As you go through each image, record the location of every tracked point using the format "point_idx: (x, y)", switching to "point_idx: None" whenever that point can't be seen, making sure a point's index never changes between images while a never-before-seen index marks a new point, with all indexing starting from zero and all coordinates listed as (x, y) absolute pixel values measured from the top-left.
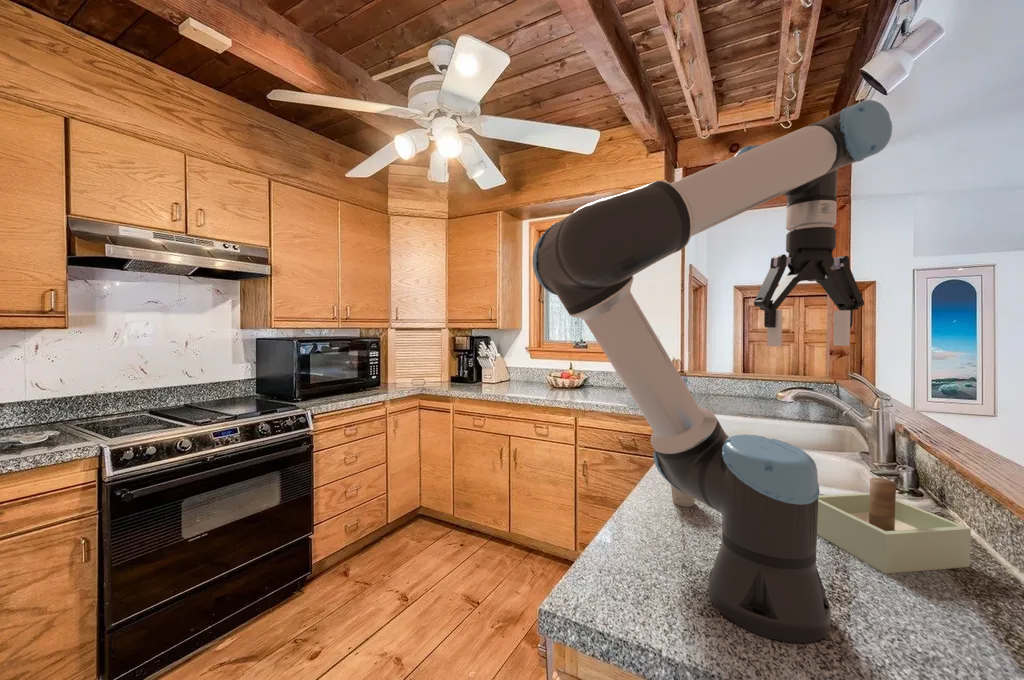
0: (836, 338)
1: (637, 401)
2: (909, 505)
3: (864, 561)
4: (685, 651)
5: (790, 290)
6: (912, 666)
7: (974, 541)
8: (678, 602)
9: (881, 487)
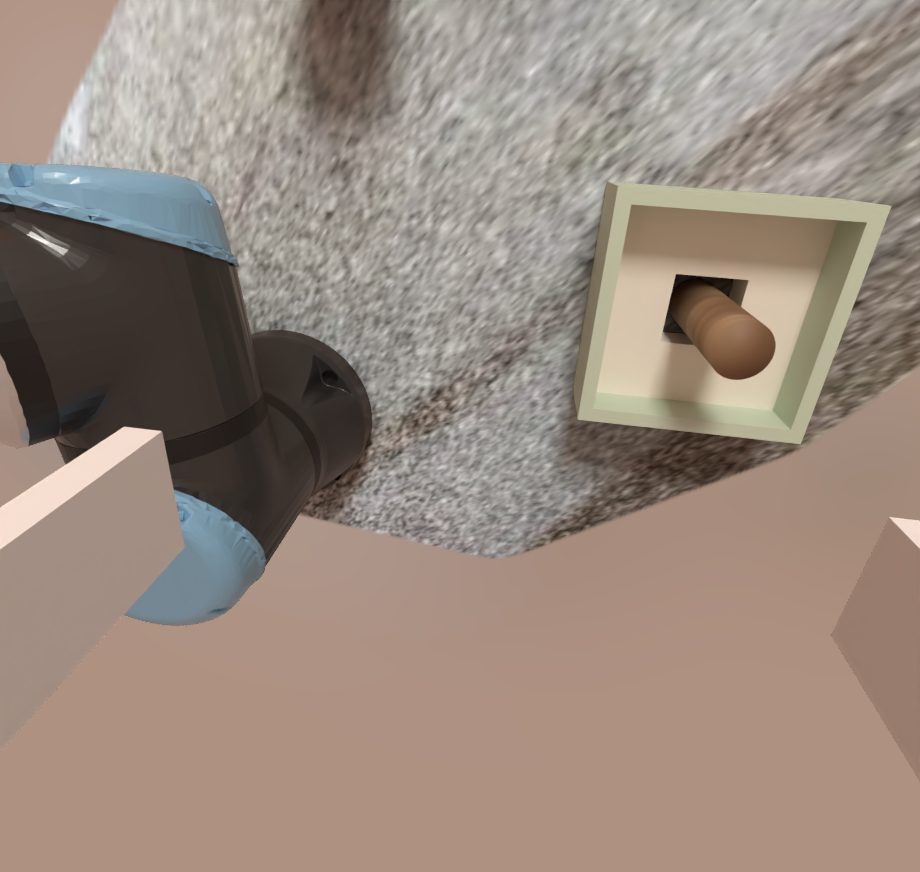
0: (916, 603)
1: None
2: (841, 314)
3: (579, 347)
4: None
5: None
6: (392, 530)
7: None
8: None
9: (709, 362)
